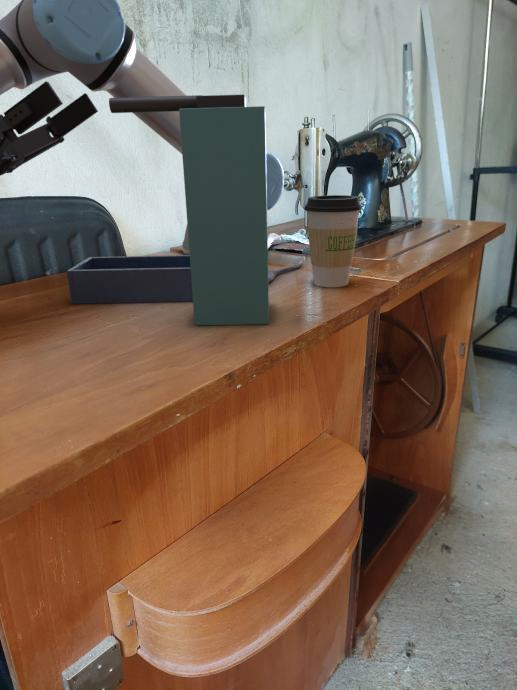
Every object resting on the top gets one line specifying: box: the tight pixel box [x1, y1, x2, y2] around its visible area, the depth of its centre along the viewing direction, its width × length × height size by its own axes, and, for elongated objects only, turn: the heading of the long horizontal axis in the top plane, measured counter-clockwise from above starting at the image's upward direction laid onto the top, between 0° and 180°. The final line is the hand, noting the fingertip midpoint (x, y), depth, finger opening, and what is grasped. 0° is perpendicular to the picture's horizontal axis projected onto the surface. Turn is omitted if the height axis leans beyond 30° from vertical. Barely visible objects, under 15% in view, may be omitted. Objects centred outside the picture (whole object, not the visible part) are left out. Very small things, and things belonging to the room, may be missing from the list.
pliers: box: [268, 259, 303, 283], centre depth 102 cm, size 10×1×20 cm
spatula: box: [268, 232, 282, 249], centre depth 121 cm, size 28×4×3 cm, turn 173°
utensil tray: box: [66, 254, 193, 305], centre depth 89 cm, size 23×11×6 cm, turn 89°
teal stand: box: [179, 105, 270, 326], centre depth 72 cm, size 10×9×28 cm
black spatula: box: [108, 93, 247, 114], centre depth 67 cm, size 18×6×2 cm, turn 89°
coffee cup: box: [304, 194, 363, 288], centre depth 91 cm, size 10×10×15 cm
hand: (75, 97), depth 67 cm, fingers open, 13 cm apart
